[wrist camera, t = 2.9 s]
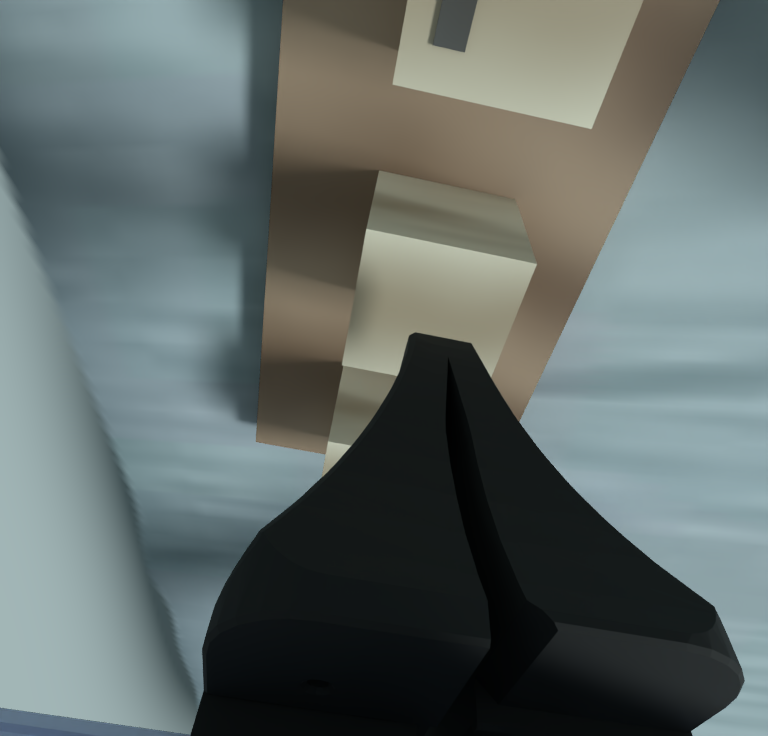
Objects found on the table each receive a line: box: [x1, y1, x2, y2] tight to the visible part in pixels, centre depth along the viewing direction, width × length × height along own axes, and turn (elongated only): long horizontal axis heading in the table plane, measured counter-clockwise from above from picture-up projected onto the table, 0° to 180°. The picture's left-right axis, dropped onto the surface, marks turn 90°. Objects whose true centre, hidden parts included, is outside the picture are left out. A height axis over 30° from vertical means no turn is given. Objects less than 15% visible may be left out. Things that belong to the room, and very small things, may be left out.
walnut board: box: [256, 0, 720, 454], centre depth 17 cm, size 20×10×1 cm, turn 169°
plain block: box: [342, 171, 537, 377], centre depth 15 cm, size 4×4×4 cm
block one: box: [322, 366, 397, 477], centre depth 20 cm, size 4×4×4 cm
